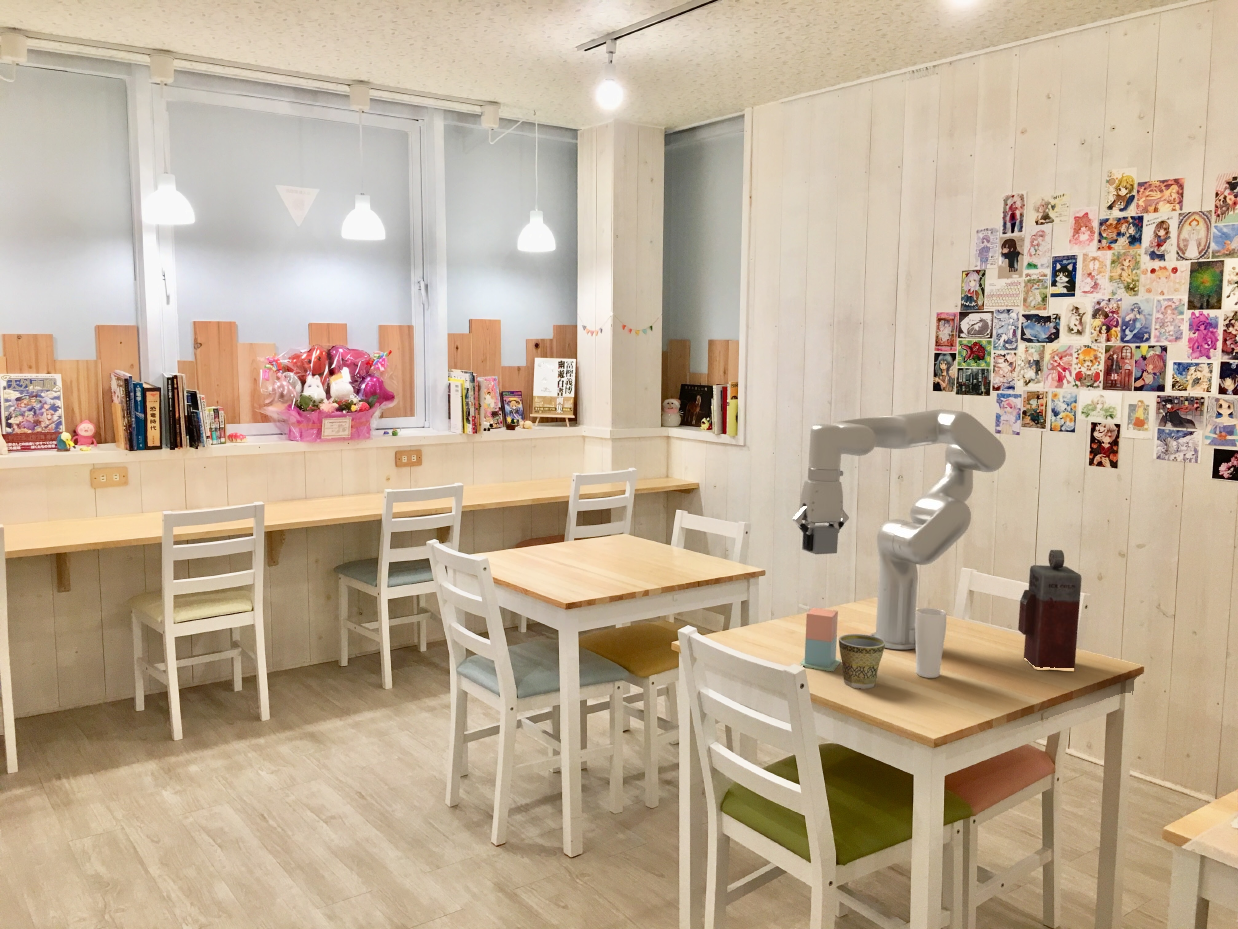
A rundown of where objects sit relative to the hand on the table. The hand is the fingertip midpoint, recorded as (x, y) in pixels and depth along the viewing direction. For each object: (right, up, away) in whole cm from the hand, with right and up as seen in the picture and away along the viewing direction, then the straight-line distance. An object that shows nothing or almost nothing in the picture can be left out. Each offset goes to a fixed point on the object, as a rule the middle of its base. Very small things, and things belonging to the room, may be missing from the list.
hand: (819, 548), depth 241 cm
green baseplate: (-1, -27, -6) cm, 28 cm away
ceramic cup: (+5, -29, -18) cm, 34 cm away
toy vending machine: (+53, -28, -4) cm, 60 cm away
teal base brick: (-1, -26, -7) cm, 27 cm away
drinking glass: (+22, -28, -13) cm, 38 cm away
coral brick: (-1, -20, -7) cm, 21 cm away
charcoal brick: (0, -1, 0) cm, 1 cm away
